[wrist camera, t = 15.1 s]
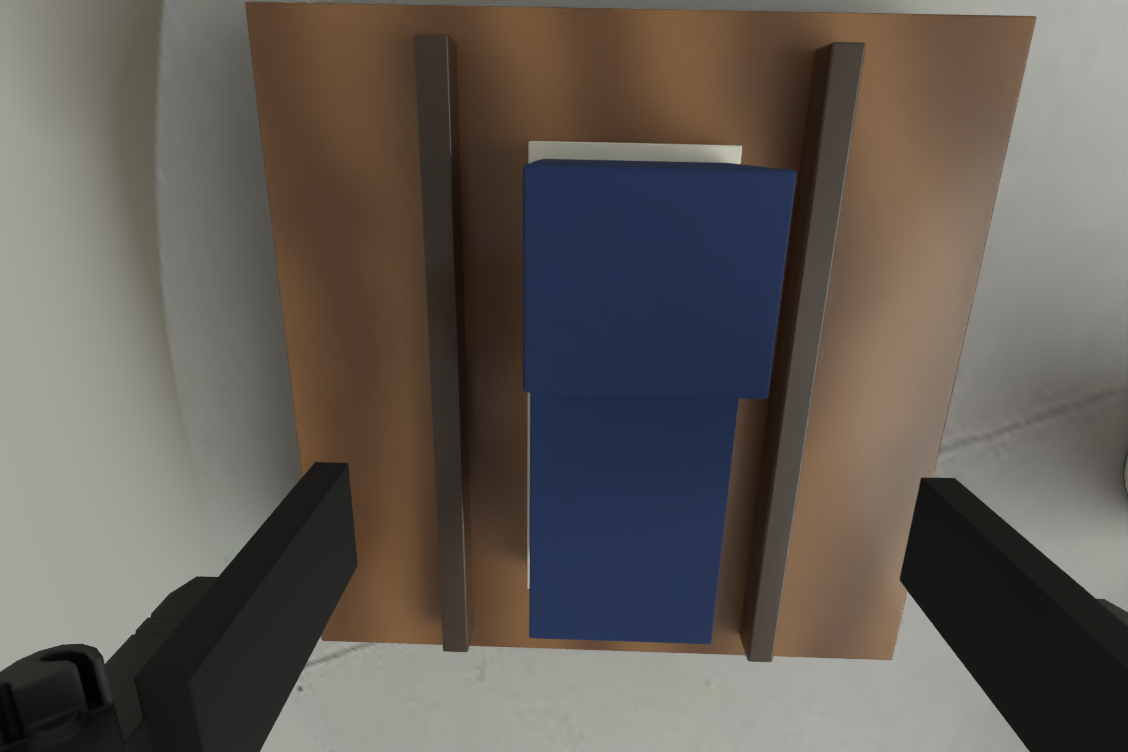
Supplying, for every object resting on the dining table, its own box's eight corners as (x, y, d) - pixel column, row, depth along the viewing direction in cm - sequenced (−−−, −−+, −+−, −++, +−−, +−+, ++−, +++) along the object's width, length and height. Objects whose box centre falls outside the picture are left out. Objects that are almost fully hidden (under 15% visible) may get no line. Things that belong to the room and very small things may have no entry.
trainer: (532, 141, 21) (502, 137, 13) (731, 145, 21) (822, 144, 13) (530, 564, 27) (508, 744, 19) (690, 569, 27) (737, 753, 18)
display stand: (365, 558, 34) (307, 667, 27) (317, 33, 26) (218, -10, 19) (839, 573, 33) (909, 688, 26) (936, 44, 26) (1072, 5, 18)
